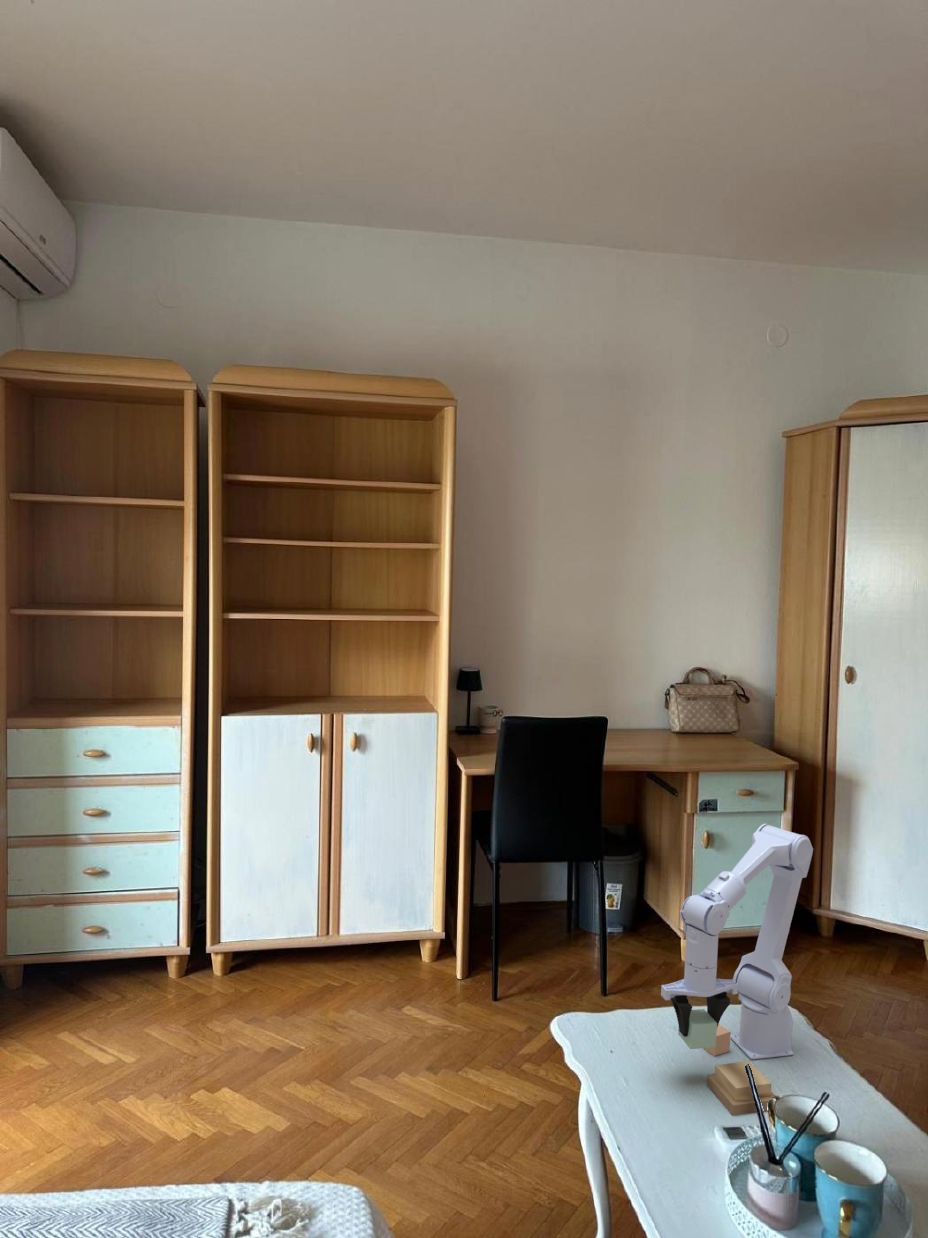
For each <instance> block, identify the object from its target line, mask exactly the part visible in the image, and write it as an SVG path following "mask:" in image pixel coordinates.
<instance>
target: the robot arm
mask: <svg viewBox="0 0 928 1238" xmlns="http://www.w3.org/2000/svg"><path fill="white" fill-rule="evenodd" d="M813 851H814V848H813V846H812V843H811V840H810V838H809V837H808V836H807V835H805V834H799V833H796V832H792V831H789V830H786V829H783V828H779V827H776V826H773V825H771V824H768V823H762V824H761V825H760V826H759V827H758V828H757V829H756V831H755V832H753V834H752V837H751V846H750V848H748V850H747V851H746V852H745V854H744V855H743V856H742V857H741V859H740V860H739V861H738V862H737V864H736V865H735V866H734V867H733V868H732V870H730V871H728V870H723V871H721V872H720V873H719V874H718V875H717V876H716V877H715V878H714V879H713V880H712V881H711V882H710V883H709V884H708V885H707V886H706V887H705V888H704V889H703V890H702V891H701V892H700V893H699V894H693V895H690V896H688V897H687V898H686V899H685V900H684V902H683V904H682V906H681V910H680V911H679V916H680V920H681V921H682V924H683V932H684V933H685V934H686V935H685V949H684V951H685V952H684V953H685V954H684V974H683V976H684V977H683V979H680V980H678V981H674V982H671V983H667V984H662V985H661V986H660V987H661V988H660V995H661V997H662V998H663V999H664V1001H670V1002H671V1003H672V1006H673V1008H674V1012H675V1015H676V1019H677V1023H678V1029H679V1031H680V1032H681V1034H682V1035H683V1036H684V1037H687V1036H688V1031H689V1018H690V1013H691V1010H693V1006H692V1004H691V1003H690V1001H689V998H688V997H700V998H706V1009H707V1011H706V1012H707V1013H708V1014H709V1015H710V1016H711V1017H712V1018H713V1019H714V1020H715V1021H716V1022H717V1027H718V1024H720V1021H721V1018H722V1017H723V1015H724V1013H725V1012H726V1010H727V1009H728V1008H729V1006H730V1004H731V999H730V998H729V996H727V995H728V994H731V995H737V994H738V1000H739V1001H740V1002H741V1003H740V1004H741V1005H740V1022H739V1025H740V1026H739V1034H730V1040H732V1041H733V1043H735V1045H736V1046H737V1047H739V1048H740V1050H741V1051H742V1052H743V1053H744V1054H745V1055H746V1056H747V1057H748V1058H749V1059H750V1060H759V1059H770V1058H776V1057H778V1058H779V1057H786V1056H787V1057H788V1056H794V1051H793V1050H792V1042H793V1039H792V1038H793V1023H794V1022H793V1016H792V1012H791V1010H790V1007H789V1006H788V1004H789V1002H790V999H791V992H792V991H791V990H792V989H791V984H792V983H791V982H792V979H793V976H792V974H791V972H790V970H789V969H788V967H787V966H786V965H785V963H784V962H783V960H782V959H783V956H784V951H785V947H786V945H787V939H788V935H789V931H790V928H791V923H792V920H793V916H794V911H795V909H796V904H797V900H798V896H799V892H800V889H801V885H802V881H803V878H805V879H806V878H807V876H808V872H809V869H810V865H811V861H812V857H813V854H814V853H813ZM767 867H769V868H770V870H771V871H772V873H773V877H772V878H773V879H772V882H771V887H770V889H769V894H768V898H767V902H766V905H765V908H764V909H765V910H764V914H763V917H762V921H761V925H760V930H759V933H758V937H757V941H756V945H755V949H754V951H752V952H749V953H746V954H745V955H742V956H741V960H740V962H739V965H738V967H737V968H736V969H735V971H734V974H733V978H732V979H725V978H724V979H723V978H717V973H718V972H717V971H718V969H717V968H718V953H719V952H718V950H719V949H718V948H719V933H720V932H722V931H723V930H724V928H725V925H726V923H727V920H728V919H729V917H730V914H731V913H730V911H731V910H733V908H734V907H735V906H736V905H737V904H738V903H739V902H741V900H742V899H743V898H744V897H745V896H746V894H747V888H746V886H747V884H748V883H750V882H751V881H752V880H753V879H754V878H756V877H757V876H758V875H760V873H761V872H763V871H764V870H765V869H766V868H767Z"/></svg>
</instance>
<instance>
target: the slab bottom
mask: <svg viewBox="0 0 928 1238" xmlns="http://www.w3.org/2000/svg"><path fill="white" fill-rule="evenodd" d="M706 1086H707V1087H708V1088H709V1089H710V1090H711V1092H712V1093H713V1094H714V1095H715V1097H716V1098H717V1099H718V1100H719V1101H720V1102H721V1104H722V1105H723V1107H725V1109H726V1110H727V1111H728V1112H729V1114H730V1115H731V1116H740V1115H747V1114H756V1113H757V1114H758V1112H757V1109H756V1106H755V1101H754V1099H748V1100H741V1101H735V1100H734V1099H733V1098H732V1097H731V1096H730V1094H729V1093H728V1092H727V1091H726V1090H725V1089H724V1088H723V1087H722V1085H721V1084H720V1083H719V1082H718V1081H717V1080H716V1079H715V1073H714V1074H713V1073H712V1074H707V1075H706ZM774 1096H776V1095H775V1094H774V1093H773V1092H772V1091H771V1096H769V1097H762V1098H760V1100H761V1103H762V1106H763V1109H764V1112H768V1111H767V1103H768V1101H769V1100H770V1098H772V1097H774Z"/></svg>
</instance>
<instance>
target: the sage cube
mask: <svg viewBox="0 0 928 1238" xmlns="http://www.w3.org/2000/svg"><path fill="white" fill-rule="evenodd" d="M716 1033H717V1022H716V1021H715V1020H714V1019H713V1018H712V1017H711V1016H710V1015H709V1014H708V1013H707V1011H706V1009H705V1008H700V1009H692V1010H691V1013H690V1018H689V1031H688V1036H687V1037H684V1036H683V1035H682V1034H681V1032H680V1031H679V1028H678V1031H677V1035H678V1036H679V1038H681V1040H683V1042H684V1043H685V1045H687V1047H688V1048H689V1049H690V1050H696V1049H697V1050H698V1049H699V1050H700V1049H704V1048H711V1047H716Z"/></svg>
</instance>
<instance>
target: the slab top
mask: <svg viewBox="0 0 928 1238" xmlns="http://www.w3.org/2000/svg"><path fill="white" fill-rule="evenodd" d="M747 1064H749V1066H750V1068H751V1070H752V1074H753V1077H754V1080H755V1083H756V1086H757V1091H758V1093H759V1097H760V1098H762V1097H769V1096H771V1092H772V1082H770V1080H769V1079H768V1078H766V1076H765V1075H764V1074H763V1073H762V1071H760V1070H759V1069H758V1068H757V1067H756V1066H755V1065H754V1064H753V1063H752V1062H751V1061H750V1060H745V1061H737V1062H731V1063H730V1062H729V1063H722V1064H715V1066H714V1074H715V1079H716V1080H717V1081H718V1082H719V1083H720V1084H721V1085H722V1087H723V1088H724V1089H725V1090H726V1091H727V1092H728V1093H729V1094H730V1096H731V1097H732V1098H733V1099H734V1100H735V1101H741V1100H748V1099H754V1098H753V1095H752V1091H751V1088H750V1085H749V1078H748V1075H747V1073H746V1070H745V1066H746V1065H747Z"/></svg>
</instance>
